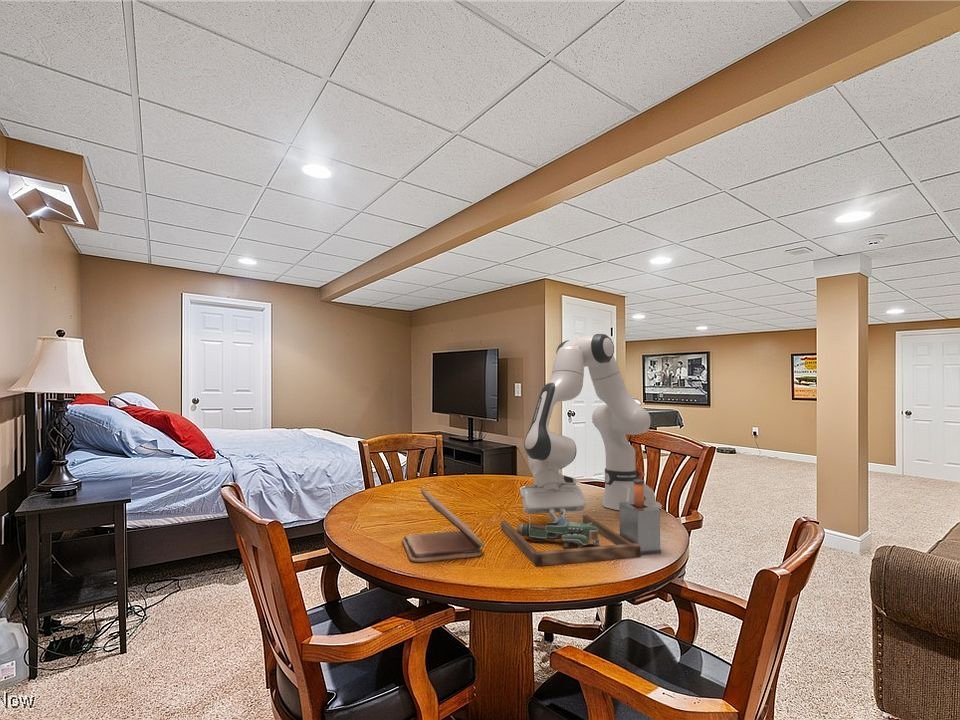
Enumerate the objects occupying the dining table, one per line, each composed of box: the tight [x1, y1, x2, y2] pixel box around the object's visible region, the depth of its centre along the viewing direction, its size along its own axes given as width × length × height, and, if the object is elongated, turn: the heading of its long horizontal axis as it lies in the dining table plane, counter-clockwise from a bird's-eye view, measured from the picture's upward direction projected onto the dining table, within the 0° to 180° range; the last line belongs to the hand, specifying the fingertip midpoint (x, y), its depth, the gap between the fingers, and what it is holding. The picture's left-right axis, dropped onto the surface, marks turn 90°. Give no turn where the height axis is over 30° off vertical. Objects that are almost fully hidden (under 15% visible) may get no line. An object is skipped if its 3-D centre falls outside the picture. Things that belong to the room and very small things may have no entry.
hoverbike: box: [515, 515, 600, 548], centre depth 144 cm, size 10×25×8 cm, turn 76°
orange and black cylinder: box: [633, 479, 646, 508], centre depth 141 cm, size 3×3×8 cm
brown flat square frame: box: [500, 514, 642, 567], centre depth 145 cm, size 30×32×3 cm
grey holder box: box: [618, 502, 662, 556], centre depth 140 cm, size 7×10×12 cm
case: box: [401, 488, 485, 563], centre depth 140 cm, size 20×21×16 cm
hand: (560, 523), depth 148 cm, fingers closed
